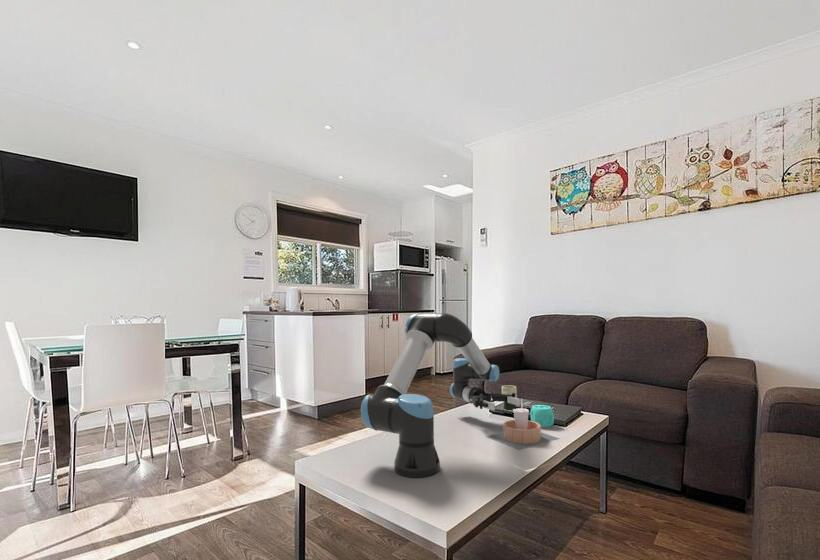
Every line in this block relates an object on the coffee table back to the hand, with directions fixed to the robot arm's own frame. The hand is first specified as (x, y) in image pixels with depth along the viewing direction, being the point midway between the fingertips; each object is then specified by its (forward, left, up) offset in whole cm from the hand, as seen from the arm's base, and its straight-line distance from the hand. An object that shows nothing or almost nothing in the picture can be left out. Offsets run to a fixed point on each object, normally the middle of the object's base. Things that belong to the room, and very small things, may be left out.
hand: (506, 404), depth 172 cm
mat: (0, -8, -12) cm, 14 cm away
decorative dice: (+20, 0, -12) cm, 23 cm away
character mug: (+22, +22, -12) cm, 33 cm away
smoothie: (0, -8, -10) cm, 13 cm away
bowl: (0, -8, -11) cm, 14 cm away
